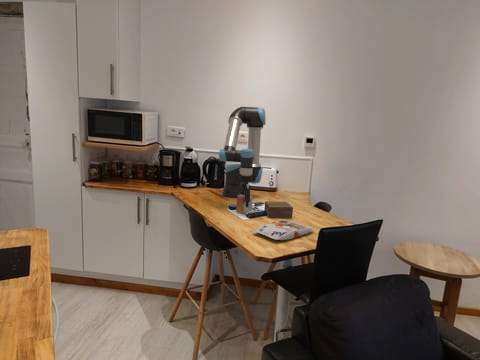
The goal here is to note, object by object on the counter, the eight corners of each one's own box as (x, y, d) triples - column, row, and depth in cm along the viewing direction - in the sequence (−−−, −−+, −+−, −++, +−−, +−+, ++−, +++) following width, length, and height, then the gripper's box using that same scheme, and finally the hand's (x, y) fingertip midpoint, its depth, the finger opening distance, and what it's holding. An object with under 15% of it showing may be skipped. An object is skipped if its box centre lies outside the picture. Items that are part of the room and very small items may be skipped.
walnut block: (264, 212, 225) (264, 201, 224) (285, 212, 228) (286, 201, 226) (269, 218, 212) (269, 207, 211) (292, 219, 214) (293, 207, 213)
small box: (235, 212, 220) (236, 195, 219) (240, 210, 225) (241, 194, 223) (247, 214, 217) (248, 197, 215) (251, 212, 222) (252, 196, 220)
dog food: (288, 224, 202) (289, 216, 201) (315, 233, 189) (316, 224, 188) (250, 234, 182) (251, 225, 181) (277, 245, 169) (278, 235, 168)
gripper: (235, 171, 228) (234, 204, 231) (244, 178, 204) (242, 214, 208) (247, 171, 229) (245, 204, 233) (257, 178, 206) (254, 214, 210)
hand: (243, 209), depth 221 cm, fingers open, 12 cm apart
